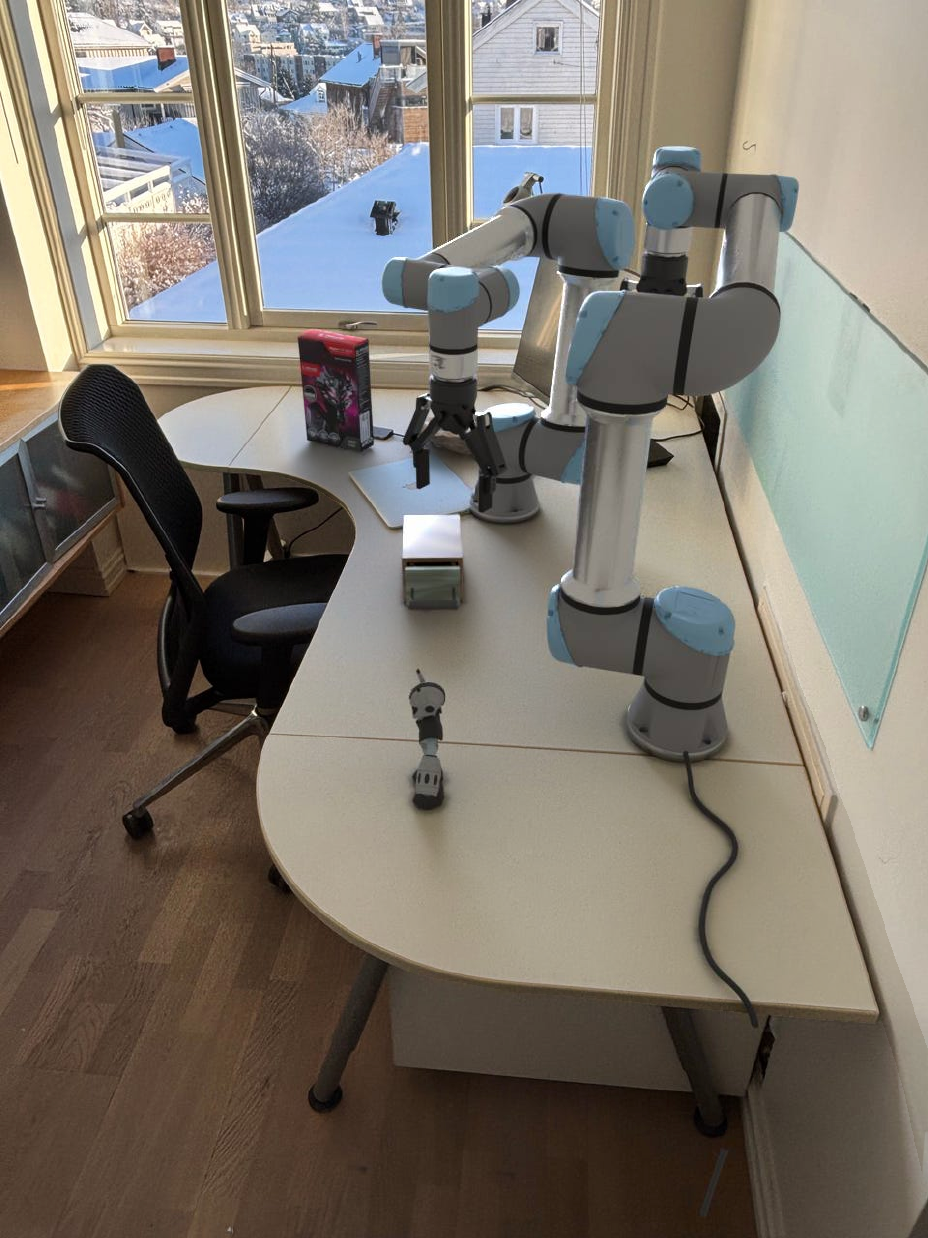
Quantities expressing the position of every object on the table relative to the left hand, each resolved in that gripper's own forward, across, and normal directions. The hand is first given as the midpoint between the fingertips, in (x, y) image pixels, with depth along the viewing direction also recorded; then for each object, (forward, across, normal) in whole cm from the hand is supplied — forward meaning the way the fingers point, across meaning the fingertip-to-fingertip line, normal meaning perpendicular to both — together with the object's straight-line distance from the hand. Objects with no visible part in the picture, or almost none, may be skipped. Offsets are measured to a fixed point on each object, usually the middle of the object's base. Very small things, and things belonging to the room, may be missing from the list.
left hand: (453, 497), depth 155 cm
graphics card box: (+25, -73, +42) cm, 88 cm away
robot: (+24, +26, -36) cm, 51 cm away
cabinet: (+24, -12, +8) cm, 28 cm away
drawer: (+23, -8, +3) cm, 25 cm away
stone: (+25, -50, +59) cm, 81 cm away
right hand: (-14, +15, +37) cm, 42 cm away
